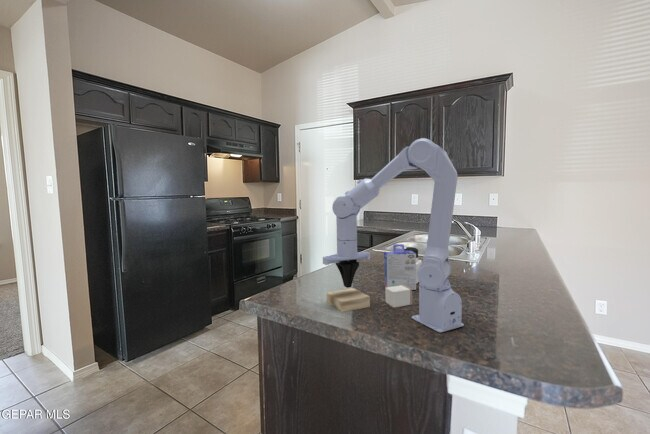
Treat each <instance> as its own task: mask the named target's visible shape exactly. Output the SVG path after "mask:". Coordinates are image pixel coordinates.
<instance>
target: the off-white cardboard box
mask: <svg viewBox="0 0 650 434" xmlns="http://www.w3.org/2000/svg"><path fill="white" fill-rule="evenodd" d="M384 291H385V303H386V304H387V305H389V306H390V307H391V308H399V307H404V306H405V307H406V306H413V290H412V289H411V288H409V287H407V286H405V285H400V286H393V287H386V288H385V287H384Z"/></svg>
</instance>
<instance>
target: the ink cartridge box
mask: <svg viewBox="0 0 650 434" xmlns="http://www.w3.org/2000/svg"><path fill="white" fill-rule="evenodd" d="M392 245H393V251H384V252H383V258H384V261H383V264H384V266H383V267H384V289H385V288H386V287H393V286H400V285H405V286H407V287H409V288H411V289H412V291H414V290H417V284H416V253H415V252H413V251H405V248H404V247H405V244H403V243H402V244H400V243H399V244H392ZM398 247H400V248H398Z"/></svg>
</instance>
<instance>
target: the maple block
mask: <svg viewBox="0 0 650 434" xmlns="http://www.w3.org/2000/svg"><path fill="white" fill-rule="evenodd" d="M326 302H327V303H328V304H329V305H330V306H332V307H333V308H335V309H336V310H338V311H339V312H341V313H344V312H349V311H355V310H360V309H364V308H370V307H371V296H370V295H368V294H366V293H364V292H362V291H360V290H358V289H356V288H354V287H349V288H345V289H339V290H334V291H328V292H326Z"/></svg>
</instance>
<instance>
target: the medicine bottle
mask: <svg viewBox="0 0 650 434" xmlns="http://www.w3.org/2000/svg"><path fill="white" fill-rule="evenodd" d="M404 248H405V251H413V252H415V253H416V285H417V284H419V280H418V277H417V271H418V269H419V267H420V266H421V264H422V262H423V260H421V259H419V250H418V248H417V247H413V246H407V247H405V246H404Z"/></svg>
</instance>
